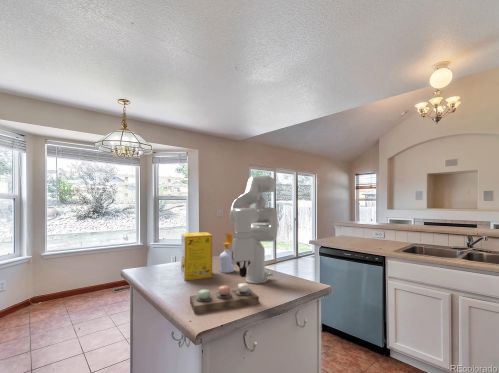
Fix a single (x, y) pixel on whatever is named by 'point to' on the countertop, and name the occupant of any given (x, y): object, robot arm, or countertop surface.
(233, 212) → the robot arm
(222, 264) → the soap bottle
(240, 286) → the button cream
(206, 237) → the packaging box
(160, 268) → the countertop surface
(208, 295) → the button sage
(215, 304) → the console
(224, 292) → the button terracotta
